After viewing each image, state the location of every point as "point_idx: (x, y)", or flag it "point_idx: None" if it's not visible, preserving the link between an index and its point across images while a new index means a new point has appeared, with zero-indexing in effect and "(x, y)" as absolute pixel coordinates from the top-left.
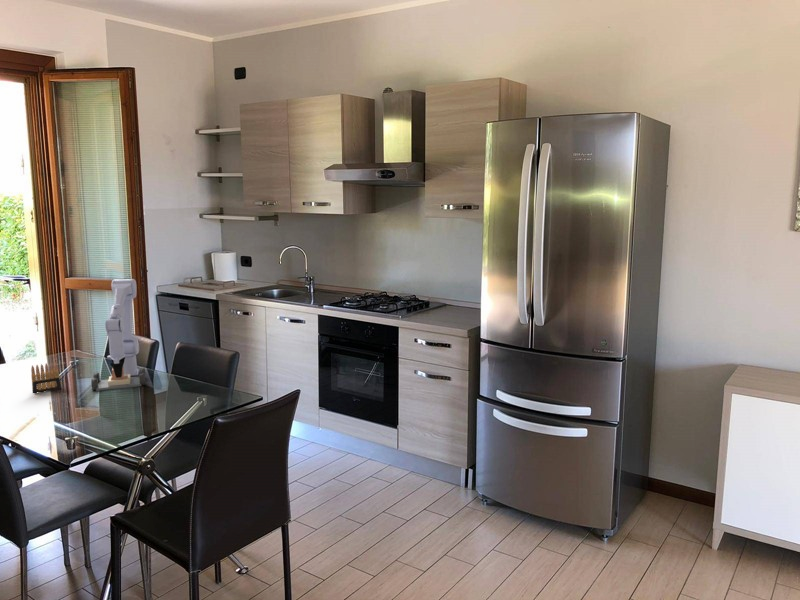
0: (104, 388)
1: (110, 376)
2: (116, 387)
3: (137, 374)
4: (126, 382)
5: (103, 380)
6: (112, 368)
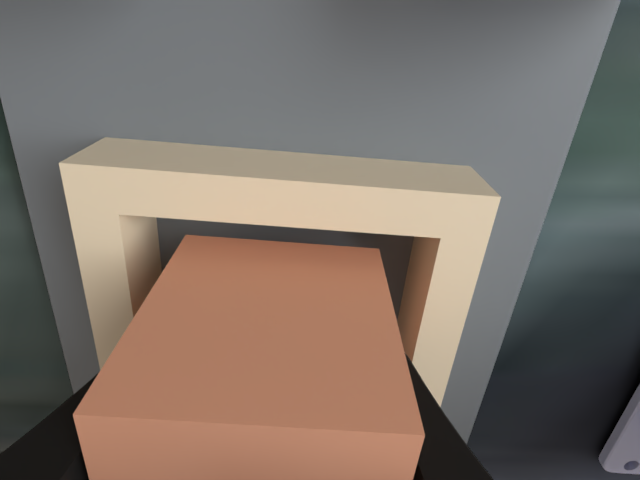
0: (2, 63)
1: (470, 216)
2: (46, 248)
3: (603, 467)
4: None
5: (566, 47)
6: (311, 434)
